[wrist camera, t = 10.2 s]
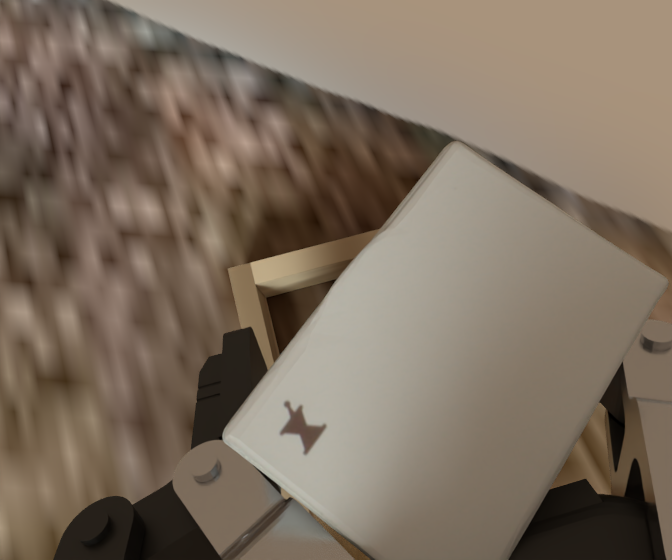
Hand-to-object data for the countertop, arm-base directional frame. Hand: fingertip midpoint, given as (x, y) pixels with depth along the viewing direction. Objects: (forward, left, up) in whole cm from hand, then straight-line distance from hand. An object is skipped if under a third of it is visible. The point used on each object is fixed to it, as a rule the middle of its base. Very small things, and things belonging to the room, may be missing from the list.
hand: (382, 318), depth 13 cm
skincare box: (0, -2, -6) cm, 6 cm away
